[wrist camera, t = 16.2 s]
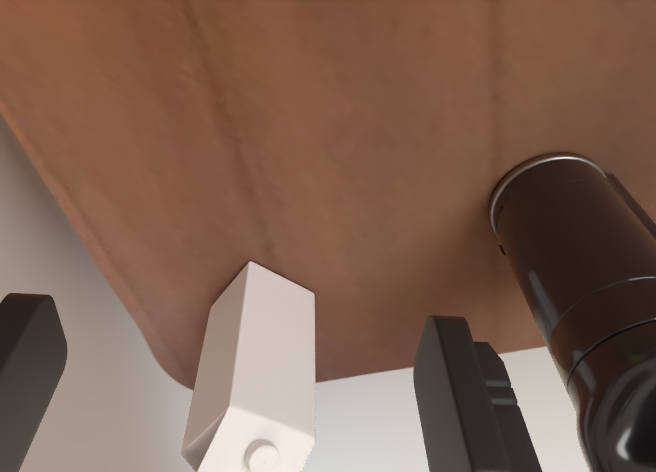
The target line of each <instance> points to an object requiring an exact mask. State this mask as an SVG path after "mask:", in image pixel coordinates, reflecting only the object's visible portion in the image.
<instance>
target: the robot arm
mask: <svg viewBox="0 0 656 472" xmlns="http://www.w3.org/2000/svg"><path fill="white" fill-rule="evenodd" d="M489 219H490V223H491V225H492V228H493V230H494V232H495V234H496V235H497V237H498V238H499V240H500V243H501V245H502V246H501V245H499V246H500V248H501V251H502V253H503V254H504V255H506V256H507V259H508V261H509V263H510V265H511V268H512V270H513V272H514V274H515V277H516V279H517V281H518V283H519V285H520V288H521V290H522V292H523V294H524V297H525V299H526V301H527V303H528V306H529V308H530V310H531V312H532V314H533V317H534V319H535V321H536V323H537V326H538V328H539V330H540V332H541V335H542V337H543V339H544V341H545V343H546V346H547V348H548V350H549V352H550V354H551V356H552V359H553V361H554V363H555V365H556V368H557V370H558V372H559V374H560V376H561V379H562V381H563V383H564V385H565V388H566V390H567V392H568V394H569V397H570V399H571V401H572V403H573V406H574V408H575V411H576V415H577V435H578V440H579V444H580V447H581V450H582V453H583V456H584V458H585V461H586V463H587V466H588V468H589V471H590V472H656V224H655V223H654V222H653V221H652V219H651V218H650V217H649V216H648V215H647V213H646V212H645V211H644V210H643V209H642V208H641V206H640V205H639V204H638V203H637V202H636V201H635V199H634V198H633V197H632V196H631V195H630V193H629V192H628V191H627V190H626V189H625V188H624V186H623V185H622V184H621V183H620V182H619V180H618V179H617V178H616V177H615V176H614V175H613V174H607V173H603V172H602V170H601V169H600V168H599V167H598V166H597V165H596V164H595V163H594V162H593V161H592V160H590V159H589V158H587V157H584V156H582V155H579V154H575V153H568V152H558V153H550V154H545V155H541V156H538V157H535V158H533V159H530V160H528V161H526V162H524V163H523V164H521V165H519V166H518V167H516V168H515V169H514V170H512V171H511V172H510V173H509V174H508V175H507V176H506V177H505V178H504V179H503V180H502V181H501V182H500V183H499V185H498V186H497V188H496V189H495V191H494V193H493V195H492V198H491V201H490V205H489ZM66 360H67V342H66V339H65V335H64V332H63V329H62V325H61V322H60V319H59V316H58V312H57V309H56V306H55V303H54V300H53V298H52V297H51V296H50V295H40V294H39V295H38V294H21V293H10V294H8V295H7V296H6V297H5V298H4V299H3V300H2V302H1V303H0V472H19V469H20V467H21V465H22V463H23V461H24V458H25V456H26V454H27V451H28V449H29V447H30V445H31V442H32V441H33V438H34V436H35V434H36V432H37V429H38V427H39V425H40V423H41V420H42V418H43V416H44V413H45V411H46V409H47V407H48V405H49V403H50V400H51V398H52V395H53V394H54V391H55V389H56V387H57V385H58V382H59V380H60V378H61V376H62V373H63V371H64V368H65V364H66ZM414 387H415V393H416V399H417V404H418V410H419V415H420V420H421V426H422V431H423V437H424V443H425V448H426V454H427V459H428V465H429V470H430V472H542V470H541V467H540V464H539V461H538V458H537V455H536V453H535V450H534V447H533V444H532V441H531V438H530V436H529V433H528V430H527V427H526V424H525V422H524V419H523V416H522V413H521V410H520V408H519V406H517V399H516V396H515V394H514V391H513V388H511V382H510V379H509V376H508V373H507V371H506V368H505V365H504V362H503V361H502V360H501V358H500V357H499V356H498V355H497V353H496V352H495V351H494V350H493V349H492V347H491V346H490V345H489V344H488V343H487V342H473V339H472V336H471V333H470V329H469V326H468V323H467V321H466V319H465V318H464V317H452V316H432V315H430V316H429V317H428V319H427V321H426V325H425V328H424V331H423V335H422V338H421V341H420V344H419V348H418V351H417V354H416V357H415V362H414Z"/></svg>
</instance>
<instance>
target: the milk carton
mask: <svg viewBox="0 0 656 472" xmlns="http://www.w3.org/2000/svg"><path fill="white" fill-rule="evenodd" d="M315 410H316V408H315V299H314V293H313V292H311V291H309V290H307V289H305V288H303V287H301V286H299V285H297V284H295V283H293V282H291V281H289V280H287V279H285V278H283V277H281V276H279V275H277V274H275V273H273V272H272V271H270V270H268V269H266V268H264V267H262V266H260V265H258V264H256V263H254V262H251V261H250V262H248V264H247V265H246V266H245V267H244V268H243V269H242V271H241V272H240V273H239V274H238V275H237V277H236V278H235V279H234V280H233V281H232V282H231V284H230V285H229V286H228V287H227V288H226V290H225V291H224V292H223V293H222V294H221V296H220V297H219V298H218V299H217V300H216V301H215V303H214V304H213V305H212V306H211V308H210V313H209V318H208V323H207V328H206V333H205V338H204V343H203V348H202V353H201V358H200V362H199V367H198V372H197V377H196V382H195V387H194V392H193V397H192V402H191V407H190V412H189V417H188V422H187V427H186V431H185V437H184V442H183V446H182V451H181V454H182V456H183V457H184V458H185V459H186V460H187V462H188V463H189V464H190V465H191V466H192V468H193V469H194V470H195V471H196V472H301V471H302V469H303V467H304V465H305V463H306V461H307V458H308V456H309V454H310V452H311V449H312V447H313V445H314V443H315V440H316V438H315V437H316V415H315V414H316V411H315Z"/></svg>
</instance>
